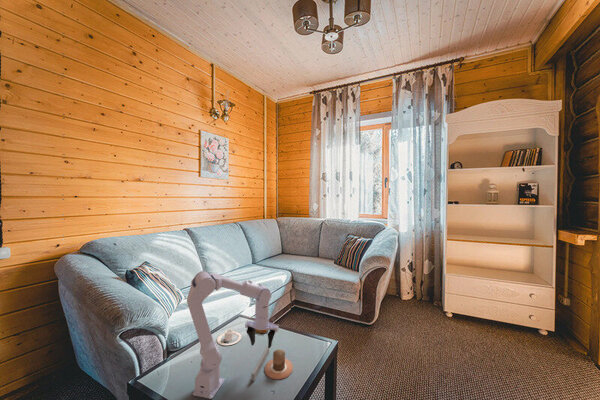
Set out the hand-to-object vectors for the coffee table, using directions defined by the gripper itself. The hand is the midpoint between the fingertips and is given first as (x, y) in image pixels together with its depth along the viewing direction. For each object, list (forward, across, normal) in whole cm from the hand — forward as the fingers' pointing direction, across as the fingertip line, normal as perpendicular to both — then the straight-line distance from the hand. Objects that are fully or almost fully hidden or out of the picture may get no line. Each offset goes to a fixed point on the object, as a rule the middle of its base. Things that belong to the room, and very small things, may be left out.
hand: (261, 345), depth 106 cm
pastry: (+10, +11, -27) cm, 31 cm away
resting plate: (+9, -8, 0) cm, 12 cm away
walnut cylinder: (+8, -8, -1) cm, 12 cm away
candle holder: (+10, +23, -15) cm, 30 cm away
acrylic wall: (+9, 0, 0) cm, 9 cm away
